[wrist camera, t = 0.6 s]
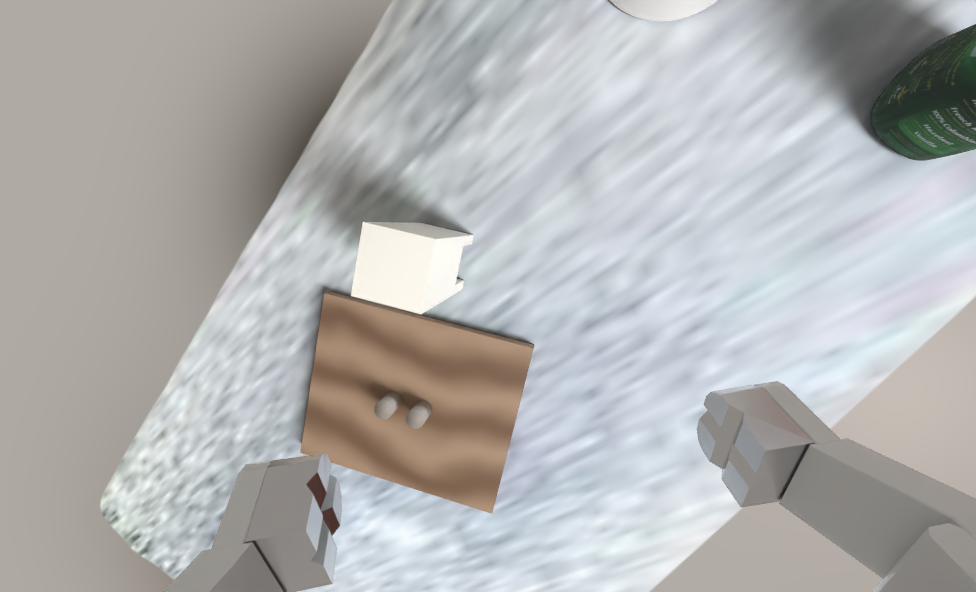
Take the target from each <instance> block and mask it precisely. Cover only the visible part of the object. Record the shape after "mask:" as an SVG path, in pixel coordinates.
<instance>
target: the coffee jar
mask: <svg viewBox="0 0 976 592" xmlns="http://www.w3.org/2000/svg"><path fill="white" fill-rule="evenodd" d="M871 122H872V126H873V129H874V131H875V132H876V134H877V135H878V136H879V137H880V138H881V140H882V141H884V142H885V143H886V144H887V145H888V146H889V147H890V148H892V149H893V150H895V151H896V152H897V153H899V154H901V155H903V156H905V157H907V158H909V159H913V160H930V159H936V158H940V157H945V156H950V155H954V154H958V153H962V152H966V151H970V150H974V149H976V24H975V25H973V26H970V27H968V28H966V29H963V30H961V31H959V32H957V33H955V34H952V35H950V36H948V37H946V38H944V39H942V40H940V41H938V42H936V43H934V44H932V45H931V46H929V47H928V48H927V49H925V50H924V51H923V52H921V53H920V54H919V55H918V56H917V57H916V58H915V59H913V60H912V61H911V62H910V63H909V64H908V65H907V66H906V67H905V68H904V69H903V70H902V71H901V72H900V73H899V74H898V75H897V76H896V77H895V78H894V79H893V81H892V82H891V83H890V84H889V85H888V86H887V87H886V89H885V90H884V91H883V93H882V94H881V95H880V97H879V98H878V99H877V101H876V102H875V104H874V106H873V109H872V112H871Z"/></svg>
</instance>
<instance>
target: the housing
mask: <svg viewBox="0 0 976 592" xmlns="http://www.w3.org/2000/svg"><path fill="white" fill-rule="evenodd" d="M473 236H474V235H471V234H467V233H463V232H458V231H454V230H450V229H446V228H441V227H437V226H433V225H428V224H424V223H406V222H363V224H362V230H361V236H360V243H359V249H358V255H357V261H356V267H355V273H354V280H353V286H352V292H351V296H353V297H357V298H361V299H365V300H368V301H372V302H376V303H380V304H384V305H387V306H391V307H395V308H399V309H403V310H407V311H410V312H414V313H418V314H423V313H424V312H426V311H428V310H429V309H431V308H432V307H434V306H436V305H437V304H439V303H441V302H442V301H444V300H446V299H447V298H449V297H450V296H452V295H454V294H455V293H457V292H459V291H460V290H462V289H463V284H464V280H461V279H457V274H458V269H459V264H460V259H461V255H462V250H463V246H466V245H471V244H472V241H473Z"/></svg>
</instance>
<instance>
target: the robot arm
mask: <svg viewBox="0 0 976 592" xmlns="http://www.w3.org/2000/svg"><path fill="white" fill-rule="evenodd" d="M610 1H611V2H612V3H613V4H614V5H615V6H617V7H618V8H619V9H621V10H622V11H624V12H626V13H627V14H630V15H632V16H634V17H637V18H640V19H644V20H649V21H673V20H678V19H682V18H686V17H689V16H692V15H694V14H696V13H699V12H701V11H703V10H704V9H706V8H708V7H710V6H711V5H712V4H714V3H715V2H717V1H718V0H610ZM704 405H705V407H706V408H707V410H708V411H707V412H706V413H705V414H704V415H703V416H702V417H701V418H700V419H699V423H698V427H697V433H698V440H699V443H700V446H701V448H702V450H703V452H704V454H705V455H706V457H707V458H708V460H709V461H710V462H712V463H713V464H715V465H717V466H718V467H720V468H721V469H722V481H723V482H724V483H725V485H726V486H727V488H728V489H729V491H730V492H731V494H732V495H733V497H734V498H735V500H736V501H737V502H738V504H739V505H740V507H747V506H753V505H760V504H766V503H772V502H779V501H780V503H779V504H780V505H782V506H783V507H785V508H786V509H787V510H789V511H790V512H792V513H793V514H794V515H796V516H797V517H798V518H800V519H801V520H803V521H804V522H805V523H807V524H808V525H810V526H811V527H812V528H814V529H815V530H817V531H818V532H819V533H821V534H822V535H823V536H825V537H826V538H828V539H829V540H830V541H832V542H833V543H835V544H836V545H837V546H839V547H840V548H842V549H843V550H844V551H846V552H847V553H849V554H850V555H851V556H853V557H854V558H856V559H857V560H858V561H859V562H861V563H862V564H864V565H865V566H867V567H868V568H869V569H871V570H872V571H873V572H875V573H876V574H878V575H879V576H880V577H882V578H883V580H882V581H881V582H880V583H879V585H878V586H877V587H876V588H875V589H874V590H873V591H872V592H976V499H975V498H973V497H971V496H969V495H967V494H965V493H963V492H961V491H958V490H956V489H954V488H952V487H950V486H948V485H946V484H944V483H941V482H939V481H937V480H935V479H933V478H931V477H928V476H926V475H924V474H922V473H920V472H918V471H916V470H914V469H912V468H909V467H907V466H905V465H903V464H901V463H899V462H897V461H894V460H892V459H890V458H888V457H886V456H884V455H882V454H880V453H877V452H875V451H873V450H871V449H869V448H867V447H865V446H863V445H860V444H858V443H856V442H854V441H852V440H850V439H847V438H846V439H840V438H839V437H838V436H837V435H836V434H835V433H833V432H832V431H831V430H830V429H829V428H828V427H827V426H826V425H825V424H824V423H823V422H822V421H821V420H820V419H819V418H818V417H817V416H816V415H815V414H814V413H813V412H812V411H811V410H810V409H809V408H808V407H807V406H806V405H805V404H804V403H803V402H802V401H801V400H800V399H799V398H798V397H797V396H796V395H795V394H794V393H793V392H792V391H791V390H790V389H789V388H788V387H786V386H785V385H784V384H782V383H780V382H778V381H776V382H769V383H763V384H757V385H748V386H742V387H736V388H731V389H725V390H719V391H713V392H710V393H709V394H708V395H707V396H706V399H705V402H704ZM330 469H331V462H330V460H329V458H328V456H327V454H319V455H311V456H304V457H296V458H288V459H281V460H273V461H267V462H260V463H253V464H246V465H245V466H244V467H243V469H242V470H241V471H240V473H239V475H238V477H237V480H236V483H235V486H234V488H233V491H232V494H231V497H230V499H229V502H228V505H227V507H226V510H225V513H224V516H223V518H222V521H221V524H220V527H219V529H218V532H217V535H216V537H215V540H214V543H213V546H212V548H211V549H208V550H204V551H202V552H201V553H200V554H199V555H198V556H197V557H196V558H195V559H194V560H193V561H192V562H191V563H190V564H189V565H188V567H187V568H186V569H185V570H184V571H183V572H182V573H181V574H180V575H179V576H178V577H177V578H176V579H175V580H174V581H173V582H172V583H171V584H170V585H169V586H168V587H167V589H166V590H165V591H164V592H296V591H301V590H306V589H310V588H315V587H320V586H324V585H329V584H332V582H333V575H334V567H335V560H336V553H337V547H336V544H335V542H334V540H333V537H332V535H333V534H334V533H335V532H336V530H337V529H338V528H339V526H340V521H341V512H342V506H341V492H340V486H339V483H338V480H337V478H336V477H334V476H332V475H330Z"/></svg>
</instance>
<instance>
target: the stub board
mask: <svg viewBox="0 0 976 592" xmlns="http://www.w3.org/2000/svg"><path fill="white" fill-rule="evenodd" d="M533 348H534V345H533V344H529V343H526V342H522V341H518V340H514V339H510V338H507V337H503V336H499V335H495V334H491V333H487V332H484V331H480V330H476V329H472V328H468V327H465V326H461V325H457V324H453V323H449V322H446V321H442V320H438V319H434V318H430V317H427V316H423V315H419V314H415V313H411V312H407V311H404V310H400V309H396V308H392V307H388V306H385V305H381V304H377V303H373V302H369V301H366V300H362V299H358V298H354V297H350V296H347V295H343V294H339V293H335V292H327V293H324V298H323V305H322V311H321V318H320V325H319V332H318V338H317V345H316V352H315V358H314V365H313V372H312V378H311V385H310V392H309V398H308V405H307V412H306V418H305V425H304V432H303V439H302V445H301V452H300V453H303V454H307V455H310V456H311V455H319V454H327V456H328V458H329V460H330V462H332V463H335V464H338V465H341V466H344V467H347V468H351V469H354V470H357V471H360V472H363V473H366V474H369V475H372V476H376V477H379V478H382V479H385V480H388V481H391V482H394V483H398V484H401V485H404V486H407V487H410V488H413V489H416V490H420V491H423V492H426V493H429V494H432V495H435V496H438V497H442V498H445V499H448V500H451V501H454V502H457V503H460V504H464V505H467V506H470V507H473V508H476V509H479V510H482V511H485V512H489V513H492V512H493V508H494V504H495V500H496V496H497V492H498V488H499V484H500V480H501V476H502V472H503V468H504V464H505V460H506V456H507V452H508V448H509V444H510V440H511V436H512V432H513V428H514V424H515V420H516V416H517V412H518V408H519V404H520V400H521V396H522V392H523V388H524V384H525V380H526V376H527V372H528V368H529V364H530V360H531V356H532V352H533Z"/></svg>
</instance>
